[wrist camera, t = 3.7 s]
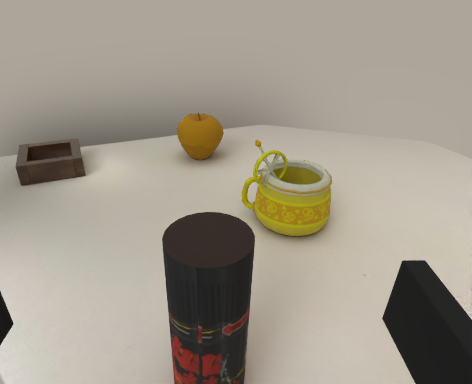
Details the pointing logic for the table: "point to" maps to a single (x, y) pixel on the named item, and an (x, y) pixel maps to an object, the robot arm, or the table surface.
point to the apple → (199, 135)
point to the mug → (290, 195)
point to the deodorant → (208, 296)
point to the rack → (49, 161)
